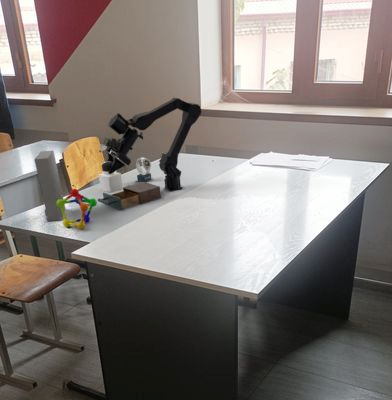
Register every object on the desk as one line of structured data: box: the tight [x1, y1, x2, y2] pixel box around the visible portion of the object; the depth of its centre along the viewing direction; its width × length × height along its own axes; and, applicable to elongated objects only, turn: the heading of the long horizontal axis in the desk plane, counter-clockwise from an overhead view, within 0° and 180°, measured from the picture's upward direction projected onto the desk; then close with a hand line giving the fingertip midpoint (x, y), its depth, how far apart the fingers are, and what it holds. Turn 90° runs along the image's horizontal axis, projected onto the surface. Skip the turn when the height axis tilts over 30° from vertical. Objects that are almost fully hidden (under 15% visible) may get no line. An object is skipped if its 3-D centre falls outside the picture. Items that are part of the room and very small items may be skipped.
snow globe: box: [135, 156, 152, 183], centre depth 250 cm, size 6×8×11 cm
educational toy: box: [57, 188, 98, 231], centre depth 200 cm, size 16×13×15 cm
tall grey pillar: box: [34, 150, 67, 222], centre depth 208 cm, size 14×6×25 cm, turn 4°
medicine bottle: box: [98, 161, 124, 194], centre depth 223 cm, size 7×7×12 cm
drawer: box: [97, 190, 140, 210], centre depth 221 cm, size 16×13×5 cm
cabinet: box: [122, 182, 162, 205], centre depth 228 cm, size 11×13×5 cm
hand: (107, 171), depth 221 cm, fingers closed on medicine bottle, 6 cm apart
